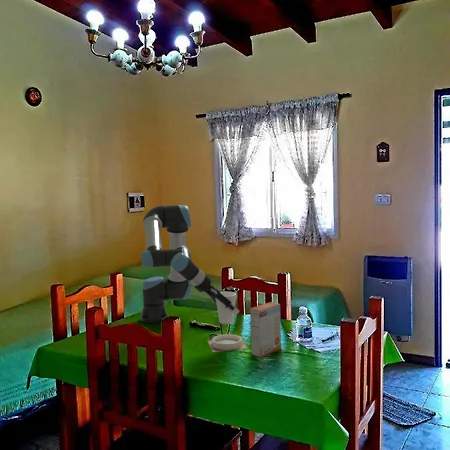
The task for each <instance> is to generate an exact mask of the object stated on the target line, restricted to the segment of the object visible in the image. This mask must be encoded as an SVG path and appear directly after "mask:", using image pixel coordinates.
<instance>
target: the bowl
mask: <svg viewBox="0 0 450 450" xmlns="http://www.w3.org/2000/svg"><path fill="white" fill-rule="evenodd" d="M211 340H212V346H213V347H214V348H217V349H222V350H231V349H236V348H239V347H241V345H242V341H243V338H242V337H241V336H239V335H237V334H230V333H225V334H219V335H215V336H214V337H212V338H211Z"/></svg>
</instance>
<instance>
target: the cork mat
mask: <svg viewBox="0 0 450 450" xmlns="http://www.w3.org/2000/svg"><path fill="white" fill-rule="evenodd" d="M206 341H207V343H208V345H209V347H210V349H211V351H212V353H219V352H220V353H221V352H230V351H241V350H249V347H247V345H246V344H245V343H244V341H243V340H242V345H241V347H239V348H236V349H231V350H222V349H217V348H214V347H213V346H212V339H207V340H206Z"/></svg>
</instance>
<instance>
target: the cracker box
mask: <svg viewBox="0 0 450 450" xmlns="http://www.w3.org/2000/svg"><path fill="white" fill-rule="evenodd" d="M249 310H250V312H249V313H250V337H251V338H250V339H251V341H250V343H251V356H252V355H253V356H256V357H259V358H263V357H266V356H269V355H270V354H273V353H274V352H277V351H280V350H281V349H282V332H281V331H282V330H281V329H282V327H281V325H282V323H281V304H280V303H278V302H277V303H276V302H272V301H270V302H267V303H264V304H261V305H258V306H254V307H253V306H252V307H251V308H249Z"/></svg>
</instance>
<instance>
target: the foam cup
mask: <svg viewBox="0 0 450 450" xmlns="http://www.w3.org/2000/svg"><path fill="white" fill-rule="evenodd" d="M219 292H220V293H221V294H222V295H223V296H225V297H226V298H227V299H228V300H229V301H231V302H232V304H233V305H234V306H235V307H236V302H237V301H236V300H237V293H236V292H233V291H219ZM215 299H216V301H215V302H216V308H217V316H218V322H219V323H220V324H223V325H230V324H233V322H234V320H235V315H234V314H233V313H232V312H231V311H230V310H229V309H228V308H225V307H226V306H225V305H224V304H223V303H222V302H220V301H219V300H218V299H217V298H215Z"/></svg>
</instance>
